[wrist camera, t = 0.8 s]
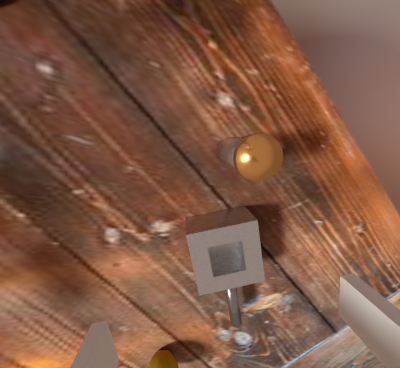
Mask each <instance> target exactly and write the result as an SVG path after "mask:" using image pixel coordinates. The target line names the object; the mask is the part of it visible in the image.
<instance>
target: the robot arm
mask: <svg viewBox="0 0 400 368" xmlns="http://www.w3.org/2000/svg"><path fill="white" fill-rule="evenodd" d="M1 1H2V0H0V2H1ZM339 315H340V316H341V317H342V319H343V320H344V321H345V322H346V323H347V324H348V325H349V326H350V328H351V329H352V330H353V331H354V332H355V333H356V334H357V335H358V337H359V338H360V339H361V340H362V341H363V342H364V343H365V344H366V346H367V347H368V348H369V349H370V350H371V351H372V352H373V353H374V355H375V356H376V357H377V358H378V359H379V360H380V361H381V362H382V364H383V365H384V366H385V367H386V368H400V310H399V309H398V308H396V307H395V306H394V305H393V304H391V303H390V302H389V301H388V300H386V299H385V298H384V297H383V296H381V295H380V294H379V293H378V292H376V291H375V290H374V289H372V288H371V287H370V286H369V285H367V284H366V283H365V282H364V281H362V280H361V279H360V278H359V277H357V276H356V275H355V274H354V273H352V274H347V275H342V276H341V277H340V302H339ZM118 361H119V358H118V354H117V351H116V348H115V345H114V342H113V339H112V336H111V333H110V330H109V327H108V324H107V321H103V322H98V323H93V324H92V325H91V327H90V329H89V331H88V333H87V335H86V337H85V339H84V341H83V343H82V345H81V347H80V349H79V351H78V353H77V355H76V358H75V360H74V362H73V364H72V366H71V368H117V365H118Z"/></svg>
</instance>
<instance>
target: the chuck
mask: <svg viewBox="0 0 400 368" xmlns="http://www.w3.org/2000/svg"><path fill="white" fill-rule="evenodd" d="M186 237H187V242H188V246H189V251H190V255H191V260H192V264H193V269H194V273H195V278H196V283H197V287H198V292H199V296H200V295H204V294H209V293H213V292H218V291H222V290H225V291H226V297H227V303H228V308H229V314H230V319H231V324H232V326H233V327H240V326H241V324H242V320H241V314H240V308H239V302H238V296H237V289H236V287H240V286H245V285H249V284H254V283H258V282H263V281H265V278H264V269H263V261H262V252H261V244H260V235H259V227H258V220H257V219H256V218H255V217H254V216H253V215H252V213H251V212H250V211H249V210H248V209H247V208H246V207H245V206H241V207H236V208H231V209H226V210H221V211H216V212H211V213H207V214H202V215H197V216H192V217H187V218H186Z"/></svg>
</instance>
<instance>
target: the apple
mask: <svg viewBox="0 0 400 368" xmlns="http://www.w3.org/2000/svg"><path fill="white" fill-rule="evenodd" d="M148 368H179V367H178V364H177V362H176V359H175V357H174V356H173V355H172V353H171V352H170V351H169V350H159V351H157V352H156V353H155V355H154V356H153V357H152V359H151V361H150V363H149V365H148Z"/></svg>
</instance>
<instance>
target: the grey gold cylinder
mask: <svg viewBox="0 0 400 368" xmlns="http://www.w3.org/2000/svg"><path fill="white" fill-rule="evenodd" d="M217 155H218V157H219V158H220V159H221V160H222V161H224V162H226V163H228V164H229V165H231V166H233V167H235V168H236V170H237V171H238V172H239V174H241V175H242V176H244V177H245V178H247V179H249V180H251V181H256V182H260V181H265V180H268V179H270V178H271V177H273V176H274V175H275V174H276V173H277V172H278V170H279V169H280V167H281V164H282V161H283V150H282V147H281V145H280V143H279V142H278V141H277V140H276V139H275V138H274V137H273V136H271V135H268V134H252V135H248V136H246V137H244V138H226V139H223V140H222V141H221V142H220V143H219V144H218V146H217Z"/></svg>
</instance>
